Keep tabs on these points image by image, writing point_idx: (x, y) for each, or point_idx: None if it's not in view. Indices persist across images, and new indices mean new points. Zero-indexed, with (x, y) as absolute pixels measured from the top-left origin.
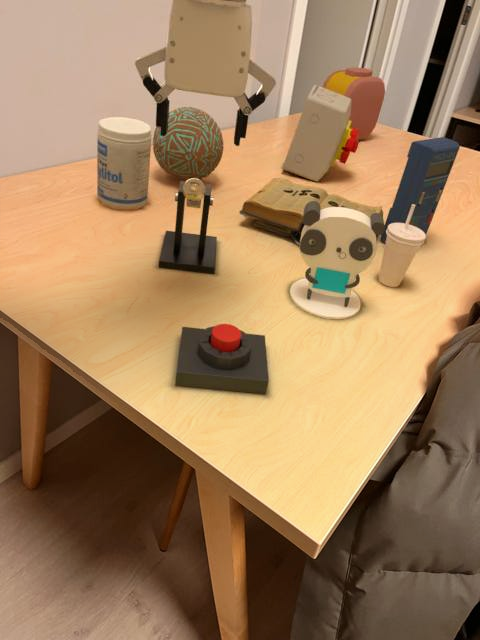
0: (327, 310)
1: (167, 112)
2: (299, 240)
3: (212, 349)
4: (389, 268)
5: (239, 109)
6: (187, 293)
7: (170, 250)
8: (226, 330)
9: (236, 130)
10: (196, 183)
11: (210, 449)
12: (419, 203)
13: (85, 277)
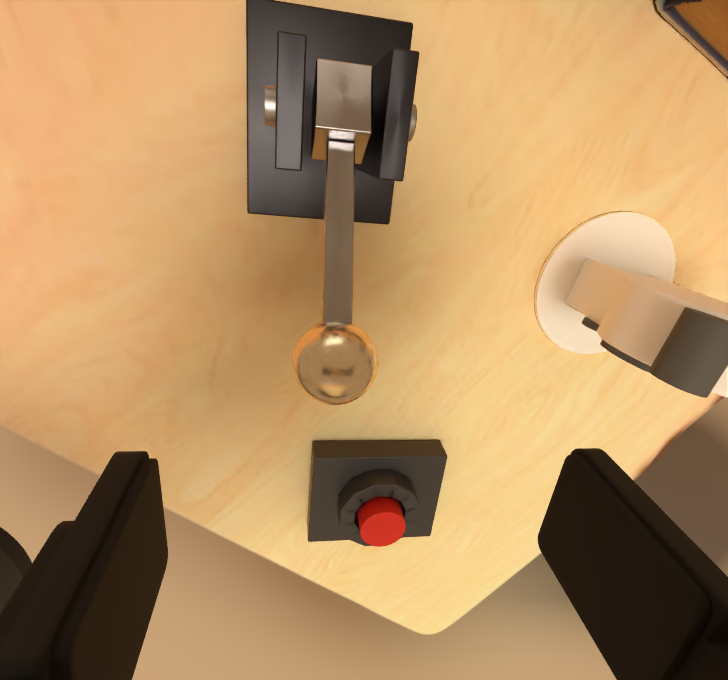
0: (587, 334)
1: (119, 668)
2: (670, 4)
3: (359, 534)
4: None
5: (704, 661)
6: None
7: (272, 147)
8: (383, 526)
9: (580, 614)
10: (344, 398)
11: (348, 588)
12: None
13: (86, 281)
